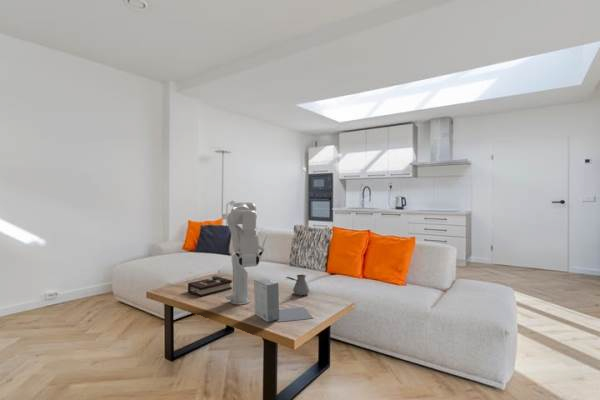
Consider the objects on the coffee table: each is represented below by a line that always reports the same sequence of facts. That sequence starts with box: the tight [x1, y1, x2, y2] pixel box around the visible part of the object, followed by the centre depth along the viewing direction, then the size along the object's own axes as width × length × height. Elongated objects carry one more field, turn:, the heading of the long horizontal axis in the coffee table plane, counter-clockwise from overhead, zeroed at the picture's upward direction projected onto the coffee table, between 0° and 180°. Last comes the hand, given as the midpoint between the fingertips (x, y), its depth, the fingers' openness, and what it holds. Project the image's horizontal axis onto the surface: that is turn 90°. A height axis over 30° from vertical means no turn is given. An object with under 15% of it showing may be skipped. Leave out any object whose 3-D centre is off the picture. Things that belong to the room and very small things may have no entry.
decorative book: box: [187, 275, 233, 298], centre depth 223 cm, size 19×8×30 cm
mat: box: [276, 306, 314, 323], centre depth 178 cm, size 20×18×1 cm
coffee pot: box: [285, 274, 310, 297], centre depth 212 cm, size 21×12×15 cm, turn 141°
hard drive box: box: [253, 277, 280, 323], centre depth 174 cm, size 16×8×20 cm, turn 35°
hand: (249, 264), depth 171 cm, fingers open, 8 cm apart
